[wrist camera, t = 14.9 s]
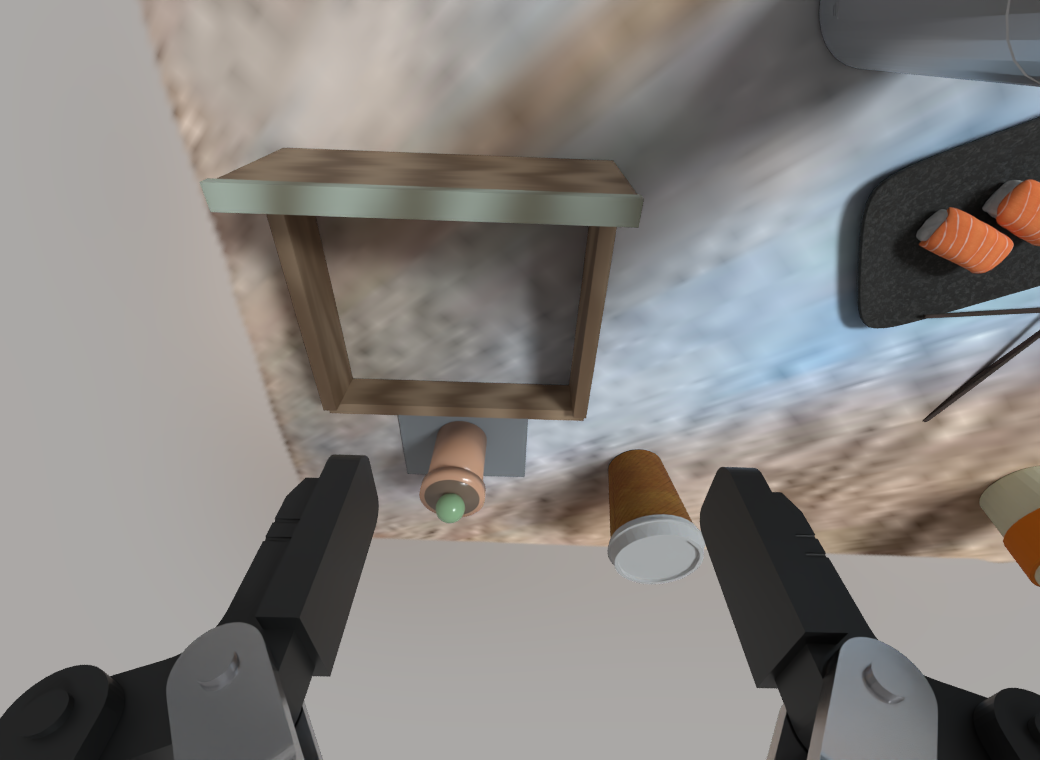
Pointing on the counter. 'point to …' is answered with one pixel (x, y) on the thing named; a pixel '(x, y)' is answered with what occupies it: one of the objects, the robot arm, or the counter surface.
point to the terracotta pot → (456, 472)
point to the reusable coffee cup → (1017, 516)
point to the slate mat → (501, 445)
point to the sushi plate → (954, 236)
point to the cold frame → (430, 196)
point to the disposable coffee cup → (649, 522)
